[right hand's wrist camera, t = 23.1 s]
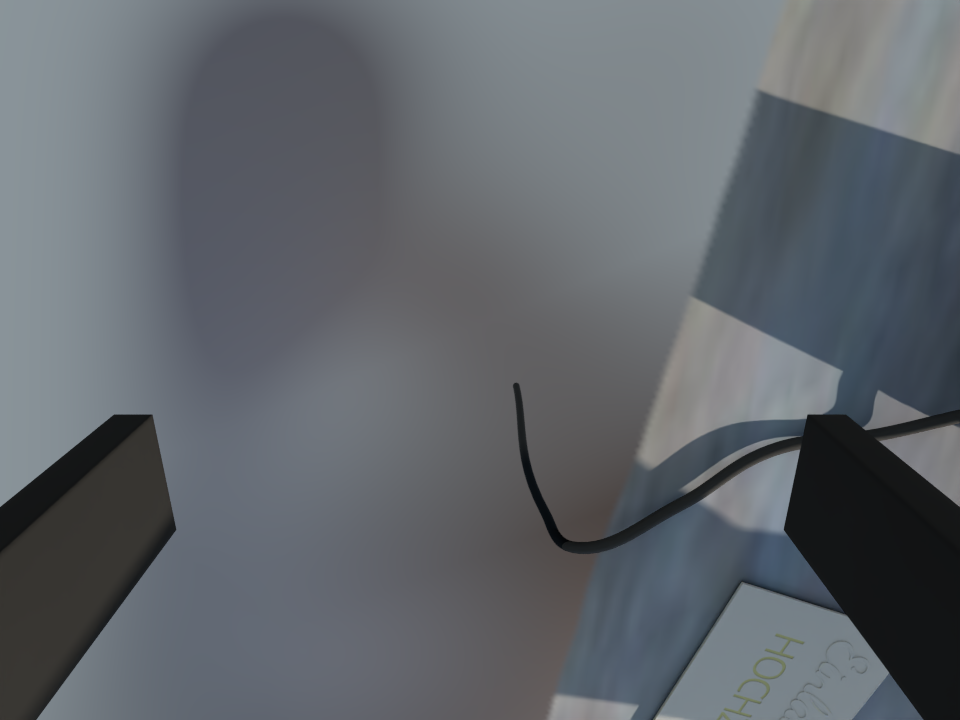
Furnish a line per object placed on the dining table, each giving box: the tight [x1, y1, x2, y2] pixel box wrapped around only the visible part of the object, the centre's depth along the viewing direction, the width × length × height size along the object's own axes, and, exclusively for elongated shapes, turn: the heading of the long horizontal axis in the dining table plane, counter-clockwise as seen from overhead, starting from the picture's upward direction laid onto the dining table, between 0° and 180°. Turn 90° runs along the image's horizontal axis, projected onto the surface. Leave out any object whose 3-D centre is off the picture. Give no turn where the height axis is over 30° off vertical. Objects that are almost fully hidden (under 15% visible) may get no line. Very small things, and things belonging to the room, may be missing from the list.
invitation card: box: [653, 582, 889, 720], centre depth 51 cm, size 21×1×15 cm
